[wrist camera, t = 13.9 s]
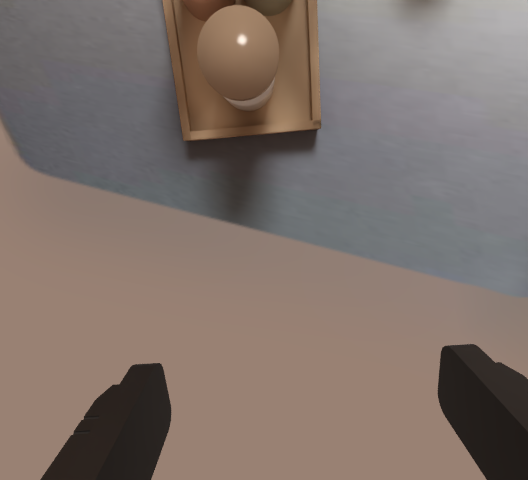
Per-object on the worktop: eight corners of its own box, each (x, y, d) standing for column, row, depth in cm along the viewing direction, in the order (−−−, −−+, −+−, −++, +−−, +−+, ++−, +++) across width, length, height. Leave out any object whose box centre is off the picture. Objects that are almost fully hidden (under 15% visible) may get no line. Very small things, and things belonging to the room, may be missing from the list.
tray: (310, -65, 29) (314, -83, 27) (317, 129, 34) (321, 128, 31) (161, -48, 29) (153, -64, 27) (189, 141, 34) (183, 140, 32)
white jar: (273, 50, 30) (277, 1, 20) (276, 110, 32) (281, 95, 21) (217, 54, 30) (191, 8, 20) (223, 114, 32) (202, 101, 21)
